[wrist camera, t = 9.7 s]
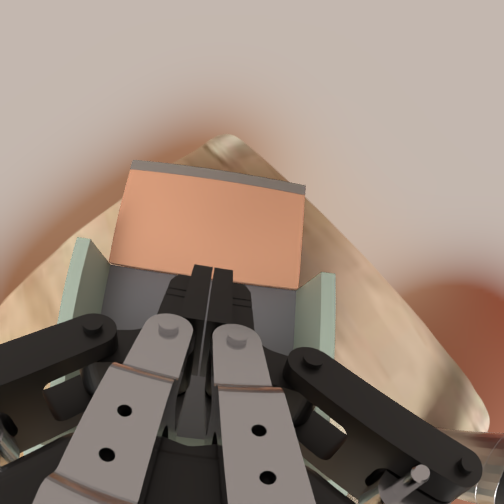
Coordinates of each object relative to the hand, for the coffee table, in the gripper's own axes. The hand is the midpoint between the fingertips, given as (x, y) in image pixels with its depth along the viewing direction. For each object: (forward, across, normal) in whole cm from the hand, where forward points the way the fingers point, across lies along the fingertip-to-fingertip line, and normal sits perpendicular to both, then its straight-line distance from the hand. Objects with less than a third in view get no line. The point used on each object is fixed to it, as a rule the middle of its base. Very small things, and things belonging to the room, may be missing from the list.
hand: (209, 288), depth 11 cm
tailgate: (+13, +1, +7) cm, 15 cm away
